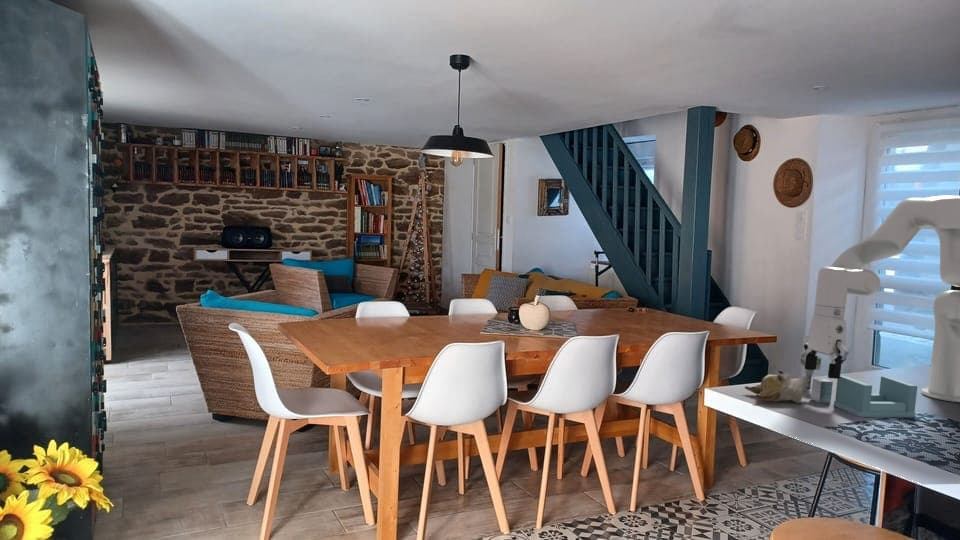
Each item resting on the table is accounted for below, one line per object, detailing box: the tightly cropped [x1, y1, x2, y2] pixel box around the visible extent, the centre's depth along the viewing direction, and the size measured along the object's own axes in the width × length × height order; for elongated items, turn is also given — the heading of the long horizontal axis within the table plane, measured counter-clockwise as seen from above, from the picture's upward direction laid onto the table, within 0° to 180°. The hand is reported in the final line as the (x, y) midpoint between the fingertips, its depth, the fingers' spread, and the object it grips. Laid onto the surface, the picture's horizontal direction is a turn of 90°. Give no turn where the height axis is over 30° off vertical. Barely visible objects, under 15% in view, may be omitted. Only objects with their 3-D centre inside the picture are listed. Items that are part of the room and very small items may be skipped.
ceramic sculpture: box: [744, 370, 807, 404], centre depth 183 cm, size 11×9×15 cm
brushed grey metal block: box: [810, 377, 834, 404], centre depth 186 cm, size 4×4×6 cm
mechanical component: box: [799, 351, 823, 389], centre depth 200 cm, size 3×10×10 cm, turn 174°
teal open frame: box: [833, 375, 918, 418], centre depth 178 cm, size 16×10×8 cm, turn 99°
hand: (821, 373), depth 185 cm, fingers open, 9 cm apart
